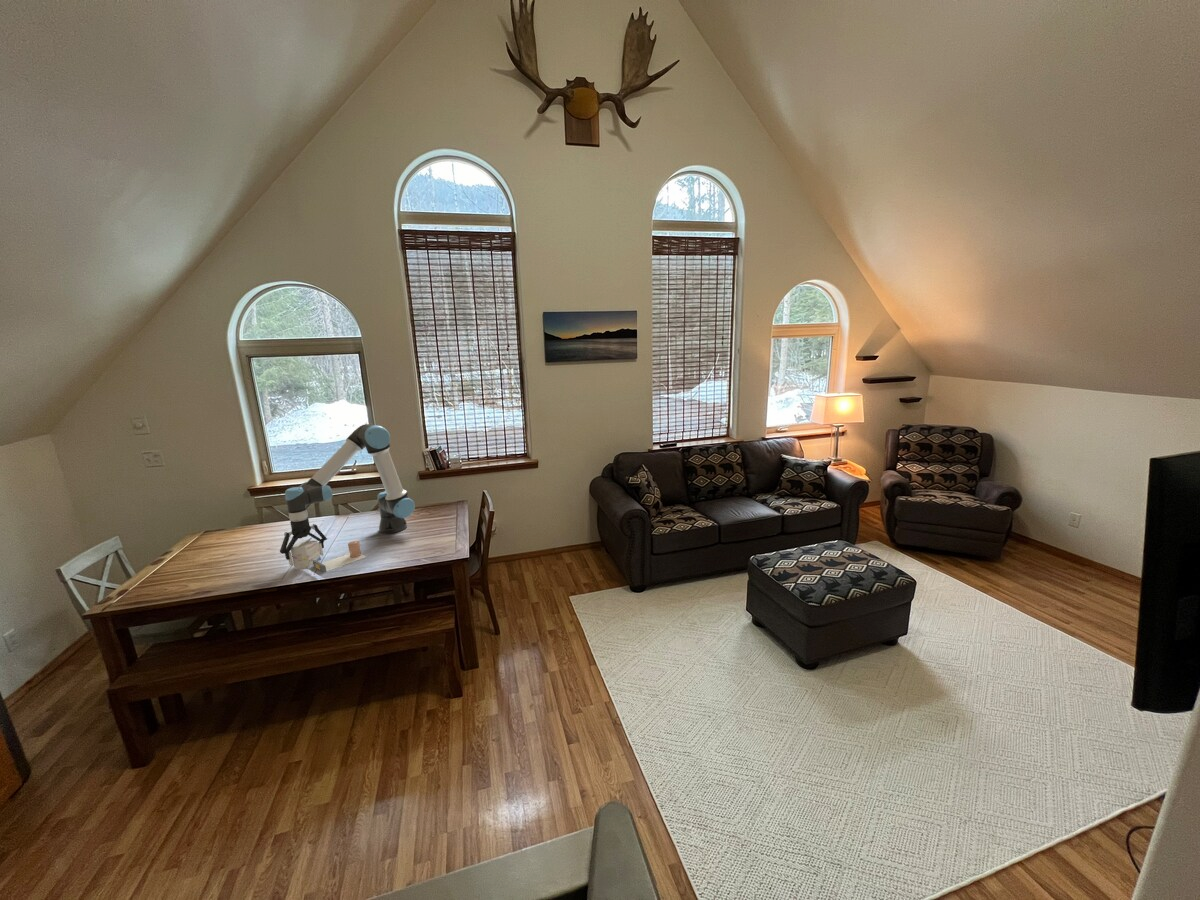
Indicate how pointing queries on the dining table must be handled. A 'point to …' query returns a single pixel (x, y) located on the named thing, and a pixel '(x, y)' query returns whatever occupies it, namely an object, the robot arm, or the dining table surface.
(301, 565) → the ink box
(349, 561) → the shelf board
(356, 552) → the tan glossy oval piece
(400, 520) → the robot arm
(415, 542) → the dining table surface
